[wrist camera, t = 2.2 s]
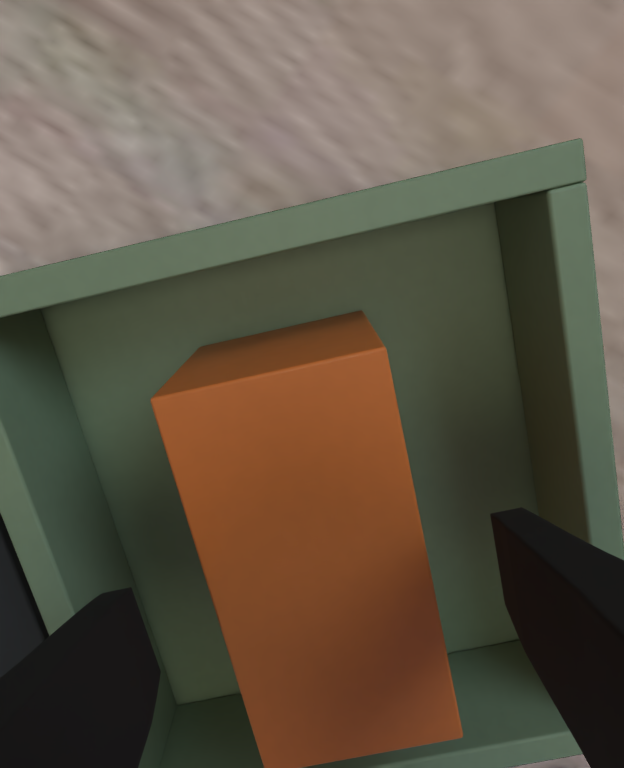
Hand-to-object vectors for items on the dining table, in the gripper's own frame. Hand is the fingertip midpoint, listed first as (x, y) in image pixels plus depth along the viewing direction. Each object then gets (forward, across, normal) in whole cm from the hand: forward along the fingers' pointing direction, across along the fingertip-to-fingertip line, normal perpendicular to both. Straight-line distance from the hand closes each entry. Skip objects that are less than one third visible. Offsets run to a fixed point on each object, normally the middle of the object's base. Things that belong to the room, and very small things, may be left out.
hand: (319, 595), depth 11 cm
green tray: (+6, 0, 0) cm, 6 cm away
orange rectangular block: (+6, 0, 0) cm, 6 cm away
